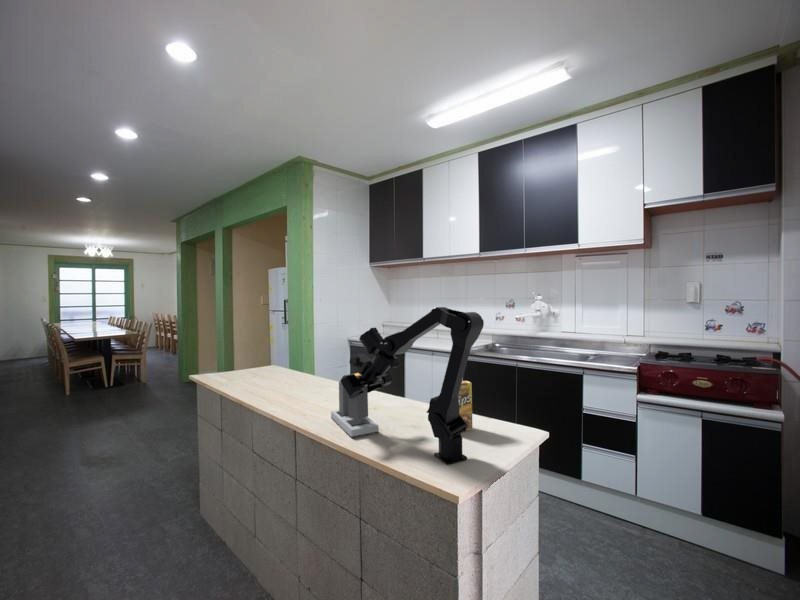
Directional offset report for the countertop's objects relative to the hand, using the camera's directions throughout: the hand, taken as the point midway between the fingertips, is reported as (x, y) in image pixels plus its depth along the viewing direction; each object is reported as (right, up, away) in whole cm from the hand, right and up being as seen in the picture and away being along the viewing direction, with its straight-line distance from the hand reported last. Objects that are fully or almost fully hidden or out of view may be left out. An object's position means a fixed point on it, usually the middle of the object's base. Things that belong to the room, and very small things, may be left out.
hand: (355, 396), depth 118 cm
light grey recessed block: (-1, -11, +4) cm, 12 cm away
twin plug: (-4, -11, +9) cm, 15 cm away
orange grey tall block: (+1, -7, -1) cm, 7 cm away
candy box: (+33, -10, -2) cm, 35 cm away
